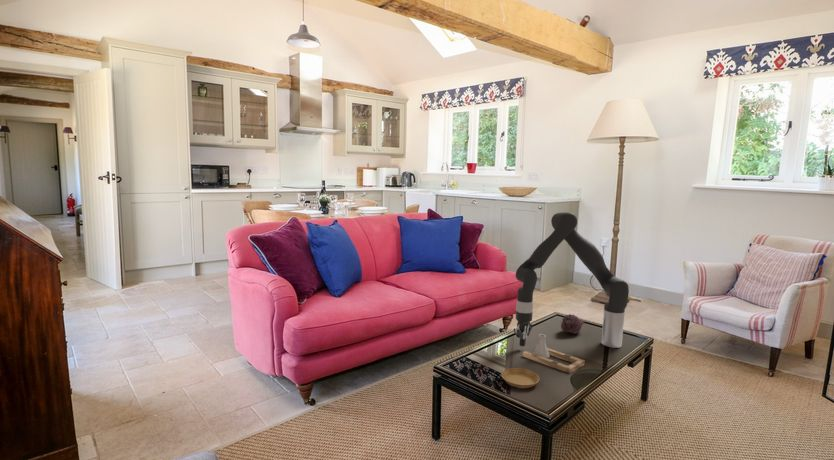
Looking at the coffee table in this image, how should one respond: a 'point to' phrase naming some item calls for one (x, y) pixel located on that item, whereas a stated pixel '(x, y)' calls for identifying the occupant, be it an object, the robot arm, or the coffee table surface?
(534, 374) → the plant saucer
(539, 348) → the flask
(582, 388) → the coffee table surface
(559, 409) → the coffee table surface
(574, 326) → the pine cone
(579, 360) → the beam channel
